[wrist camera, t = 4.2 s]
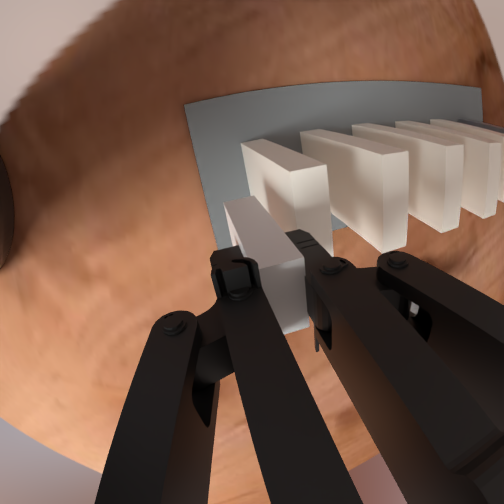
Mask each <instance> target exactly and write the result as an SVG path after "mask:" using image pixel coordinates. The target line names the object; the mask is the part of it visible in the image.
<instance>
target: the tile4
mask: <svg viewBox="0 0 504 504" xmlns="http://www.w3.org/2000/svg"><path fill="white" fill-rule="evenodd" d="M395 126H396V128H399V129H403V130H408V131H413V132H417V133H422V134H426V135H430V136H434V137H438V138H442V139H446V140H449V141H453V142H457V143H460V144H464V161H463V183H462V197H461V207H462V208H464V209H466V210H468V211H470V212H472V213H474V214H476V215H477V216H479V217H481V218H483V219H484V218H487V217H490V216H492V215H495V214H496V206H497V199H498V190H499V179H500V166H501V142H498V141H495V140H491V139H488V138H484V137H481V136H477V135H473V134H469V133H465V132H461V131H457V130H453V129H449V128H444V127H440V126H435V125H430V124H425V123H420V122H414V121H395Z"/></svg>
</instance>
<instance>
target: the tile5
mask: <svg viewBox="0 0 504 504" xmlns="http://www.w3.org/2000/svg"><path fill="white" fill-rule="evenodd" d="M430 125H435V126H440V127H444V128H449V129H453V130H457V131H461V132H465V133H469V134H473V135H477V136H481V137H484V138H488V139H491V140H495V141H498V142H501V166H500V179H499V190H498V200H500V201H502V202H504V134H503V133H499V132H496V131H492V130H488V129H484V128H480V127H476V126H472V125H467V124H463V123H458V122H453V121H449V120H443V119H430Z"/></svg>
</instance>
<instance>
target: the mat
mask: <svg viewBox="0 0 504 504" xmlns="http://www.w3.org/2000/svg"><path fill="white" fill-rule="evenodd" d="M184 108H185V113H186V117H187V122H188V126H189V131H190V135H191V140H192V144H193V148H194V153H195V157H196V161H197V166H198V170H199V174H200V178H201V183H202V187H203V191H204V195H205V199H206V203H207V207H208V211H209V215H210V219H211V223H212V227H213V231H214V235H215V239H216V243H217V247H218V250H220V249H224V248H228V247H232V246H233V245H232V240H231V236H230V231H229V226H228V222H227V217H226V212H225V208H224V203H223V202H227V201H232V200H236V199H240V198H245V197H249V196H251V195H250V190H249V185H248V179H247V174H246V169H245V164H244V158H243V153H242V148H241V143H243V142H248V141H253V140H258V139H265V140H268V141H271V142H273V143H276V144H278V145H281V146H283V147H286V148H288V149H291V150H293V151H296V152H298V153H301V154H303V152H302V145H301V138H300V132H302V131H309V130H315V129H323V130H327V131H332V132H337V133H341V134H346V135H350V136H353V135H352V125H353V124H362V123H372V124H377V125H383V126H388V127H394V128H396V126H395V121H414V122H420V123H425V124H430V119H443V120H449V121H453V122H458V119H471V120H476V121H480V122H483V111H482V94H481V88H476V87H469V86H460V85H451V84H441V83H428V82H410V81H347V82H329V83H315V84H304V85H294V86H285V87H277V88H270V89H263V90H256V91H250V92H244V93H238V94H232V95H227V96H222V97H217V98H212V99H207V100H203V101H198V102H194V103H190V104H186V105H184ZM331 223H332V231H333V230H337V229H341V228H344V227H348V226H347V225H346V224H345V223H343V222H342V221H341V220H340V219H338V218H337V217H336V216H334V215H333V214H332V213H331Z"/></svg>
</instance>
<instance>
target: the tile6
mask: <svg viewBox="0 0 504 504" xmlns="http://www.w3.org/2000/svg"><path fill="white" fill-rule="evenodd" d="M458 123H463V124H467V125H472V126H476V127H480V128H484V129H488V130H492V131H496V132H499V133H503V134H504V127H501V126H497V125H493V124H489V123H484V122H480V121H476V120H471V119H458Z"/></svg>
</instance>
